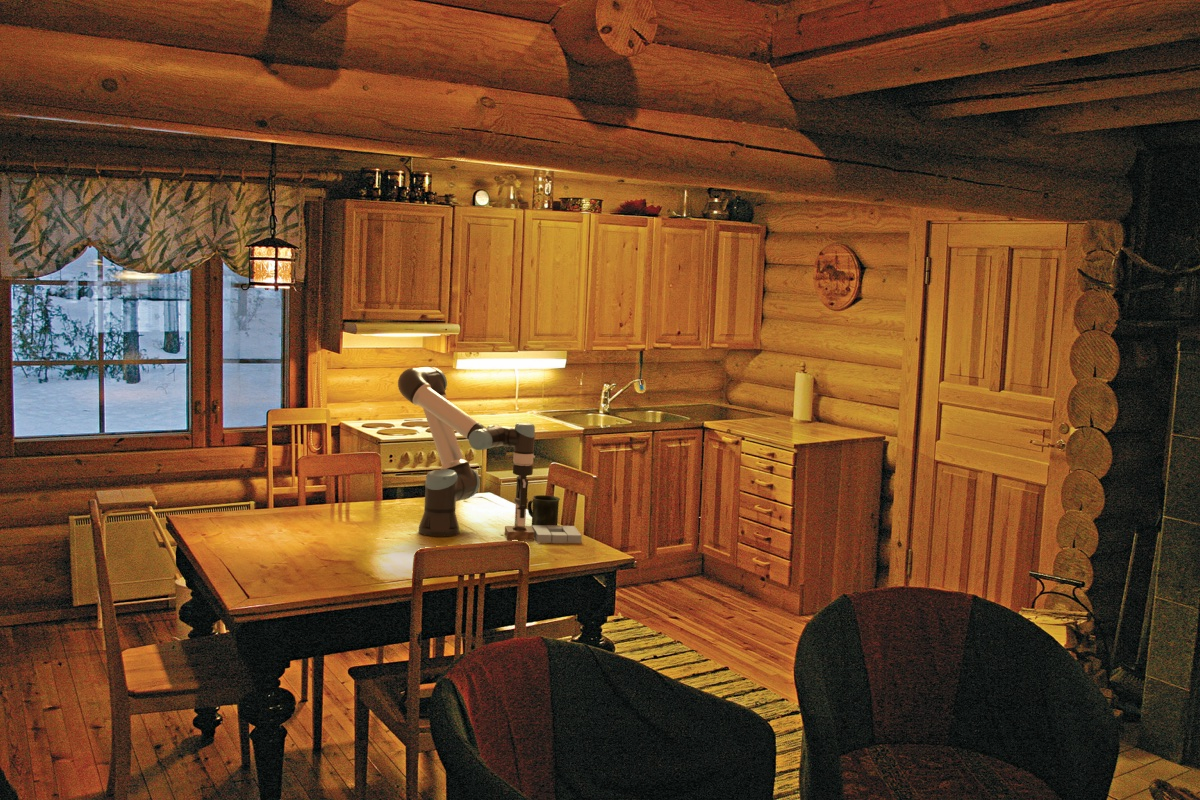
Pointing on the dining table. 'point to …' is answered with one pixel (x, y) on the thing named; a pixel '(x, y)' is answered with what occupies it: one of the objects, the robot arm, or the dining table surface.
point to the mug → (544, 510)
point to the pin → (519, 528)
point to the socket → (556, 534)
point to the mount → (519, 533)
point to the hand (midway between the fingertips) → (519, 523)
